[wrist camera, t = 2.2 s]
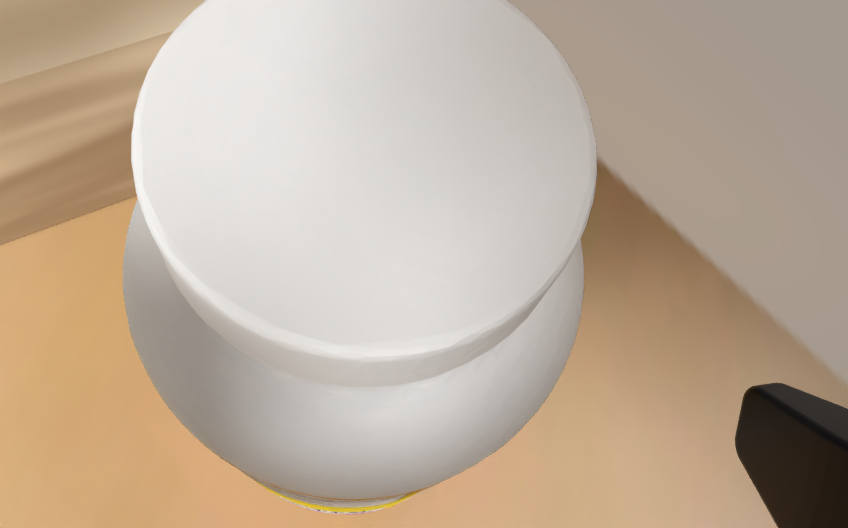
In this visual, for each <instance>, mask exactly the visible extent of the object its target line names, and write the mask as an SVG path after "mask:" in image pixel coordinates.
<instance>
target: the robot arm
mask: <svg viewBox="0 0 848 528" xmlns="http://www.w3.org/2000/svg"><path fill="white" fill-rule="evenodd" d="M735 446H736V451H737V454H738V457H739V459H740V461H741V463H742V464H743V466H744V468H745V470H746V471H747V473H748V475H749V477H750V479H751V480H752V482H753V484H754V486H755V487H756V489H757V491H758V493H759V495H760V496H761V498H762V500H763V502H764V503H765V505H766V507H767V509H768V511H769V512H770V514H771V516H772V518H773V520H774V521H775V523H776V525H777V527H778V528H848V409H847V408H844V407H842V406H839V405H837V404H834V403H832V402H829V401H826V400H824V399H821V398H819V397H816V396H814V395H811V394H808V393H806V392H803V391H801V390H798V389H796V388H793V387H791V386H788V385H785V384H782V383H771V384H764V385H757V386H752V387H750V388H749V389H748V390H747V391H746V392H745V394H744V397H743V401H742V406H741V411H740V416H739V421H738V426H737V431H736V436H735Z"/></svg>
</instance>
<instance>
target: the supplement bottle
mask: <svg viewBox="0 0 848 528" xmlns="http://www.w3.org/2000/svg"><path fill="white" fill-rule="evenodd" d="M131 163H132V169H133V176H134V182H135V189H136V194H137V197H138V199H137V202H136V204H135V207H134V210H133V214H132V217H131V221H130V224H129V228H128V232H127V238H126V245H125V252H124V259H123V294H124V301H125V308H126V313H127V318H128V323H129V328H130V332H131V335H132V338H133V342H134V345H135V348H136V350H137V352H138V355H139V357H140V359H141V361H142V363H143V365H144V367H145V369H146V371H147V373H148V375H149V377H150V379H151V381H152V383H153V384H154V386H155V388H156V389H157V391H158V393H159V394H160V396H161V397H162V399H163V400H164V402H165V403H166V405H167V406H168V407H169V409H170V410H171V411H172V412H173V414H174V415H175V416H176V417H177V418H178V420H179V421H180V422H181V423H182V424H183V425H184V426H185V427H186V428H187V429H188V430H189V431H190V432H191V433H192V434H193V435H194V436H195V437H196V438H197V439H198V440H199V441H200V442H201V443H203V444H204V445H205V446H206V447H207V448H209V449H210V450H211V451H212V452H213V453H215V454H216V455H218V456H219V457H220V458H221V459H223V460H225V461H226V462H228V463H229V464H231V465H232V466H234V467H236V468H237V469H239V470H240V471H242V472H243V473H244V474H246V475H247V476H249V477H250V478H252V479H253V480H254V481H256V482H257V483H258V484H260V485H261V486H263V487H264V488H266V489H267V490H269V491H270V492H272V493H273V494H275V495H277V496H278V497H280V498H282V499H284V500H286V501H288V502H290V503H292V504H295V505H298V506H301V507H303V508H306V509H309V510H314V511H318V512H323V513H331V514H348V515H350V514H363V513H369V512H374V511H378V510H382V509H386V508H389V507H391V506H394V505H396V504H398V503H401V502H403V501H405V500H407V499H409V498H411V497H413V496H415V495H417V494H419V493H421V492H423V491H424V490H426V489H428V488H430V487H432V486H434V485H436V484H438V483H440V482H442V481H444V480H446V479H448V478H451V477H453V476H455V475H457V474H459V473H461V472H463V471H464V470H466V469H468V468H470V467H472V466H474V465H475V464H477V463H478V462H480V461H482V460H483V459H485V458H486V457H488V456H489V455H491V454H492V453H494V452H495V451H497V450H498V449H499V448H501V447H502V446H503V445H505V444H506V443H507V442H508V441H509V440H510V439H511V438H512V437H513V436H515V435H516V434H517V433H518V432H519V431H520V430H521V429H522V428H523V426H524V425H525V424H526V423H527V422H528V421H529V420H530V419H531V418H532V417H533V416H534V414H535V413H536V412H537V411H538V410H539V408H540V407H541V406H542V404H543V403H544V401H545V400H546V399H547V397H548V396H549V394H550V393H551V391H552V389H553V388H554V386H555V384H556V382H557V381H558V379H559V377H560V375H561V373H562V371H563V369H564V367H565V364H566V362H567V360H568V358H569V355H570V352H571V350H572V347H573V344H574V341H575V337H576V333H577V329H578V325H579V321H580V317H581V310H582V302H583V293H584V262H583V252H582V245H581V237H582V234H583V232H584V230H585V228H586V225H587V221H588V217H589V214H590V211H591V207H592V204H593V201H594V194H595V187H596V179H597V147H596V141H595V135H594V130H593V125H592V120H591V115H590V112H589V109H588V106H587V104H586V101H585V98H584V95H583V92H582V90H581V87H580V85H579V83H578V81H577V79H576V78H575V76H574V74H573V72H572V71H571V68H570V67H569V65H568V63H567V62H566V60H565V59H564V57H563V56H562V54H561V53H560V51H559V50H558V48H557V47H556V46H555V45H554V44H553V43H552V41H551V40H550V39H549V38H548V37H547V36H546V34H545V33H544V32H543V31H542V30H541V29H540V28H539V27H538V26H537V25H536V24H535V23H534V22H533V21H532V20H531V19H530V18H528V17H527V16H526V15H525V14H524V13H523V12H522V11H520V10H519V9H517V8H516V7H515V6H514V5H512V4H511V3H510V2H509V1H507V0H205V1H204V2H203V3H202V4H201V5H199V6H198V7H197V8H196V9H195V10H194V11H193V12H192V13H191V14H190V15H189V16H188V17H187V18H186V19H185V20H184V21H182V22H181V24H180V25H179V26H178V27H177V28H176V29H175V30H174V32H173V33H172V34H171V35H170V37H169V38H168V39H167V41H166V42H165V44H164V45H163V46H162V48H161V49H160V50H159V52H158V54H157V56H156V57H155V59H154V61H153V63H152V65H151V67H150V68H149V70H148V72H147V75H146V77H145V80H144V83H143V85H142V88H141V90H140V93H139V97H138V100H137V104H136V108H135V111H134V122H133V129H132V139H131Z"/></svg>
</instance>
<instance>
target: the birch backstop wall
mask: <svg viewBox="0 0 848 528" xmlns="http://www.w3.org/2000/svg"><path fill="white" fill-rule="evenodd" d="M204 1H205V0H0V245H1V244H4V243H7V242H10V241H12V240H15V239H18V238H21V237H23V236H26V235H29V234H32V233H34V232H37V231H40V230H43V229H45V228H48V227H51V226H54V225H56V224H59V223H62V222H65V221H68V220H70V219H73V218H76V217H79V216H81V215H84V214H87V213H90V212H92V211H95V210H98V209H101V208H103V207H106V206H109V205H112V204H114V203H117V202H120V201H123V200H125V199H128V198H131V197H134V196H136V195H137V194H136V189H135V182H134V176H133V169H132V163H131V139H132V129H133V122H134V111H135V108H136V104H137V100H138V97H139V93H140V90H141V88H142V85H143V83H144V80H145V77H146V75H147V72H148V70H149V68H150V67H151V65H152V63H153V61H154V59H155V57H156V56H157V54H158V52H159V50H160V49H161V48H162V46H163V45H164V44H165V42H166V41H167V39H168V38H169V37H170V35H171V34H172V33H173V32H174V30H175V29H176V28H177V27H178V26H179V25H180V24H181V22H182V21H184V20H185V19H186V18H187V17H188V16H189V15H190V14H191V13H192V12H193V11H194V10H195V9H196V8H197V7H198V6H199V5H201V4H202V3H203V2H204Z"/></svg>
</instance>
